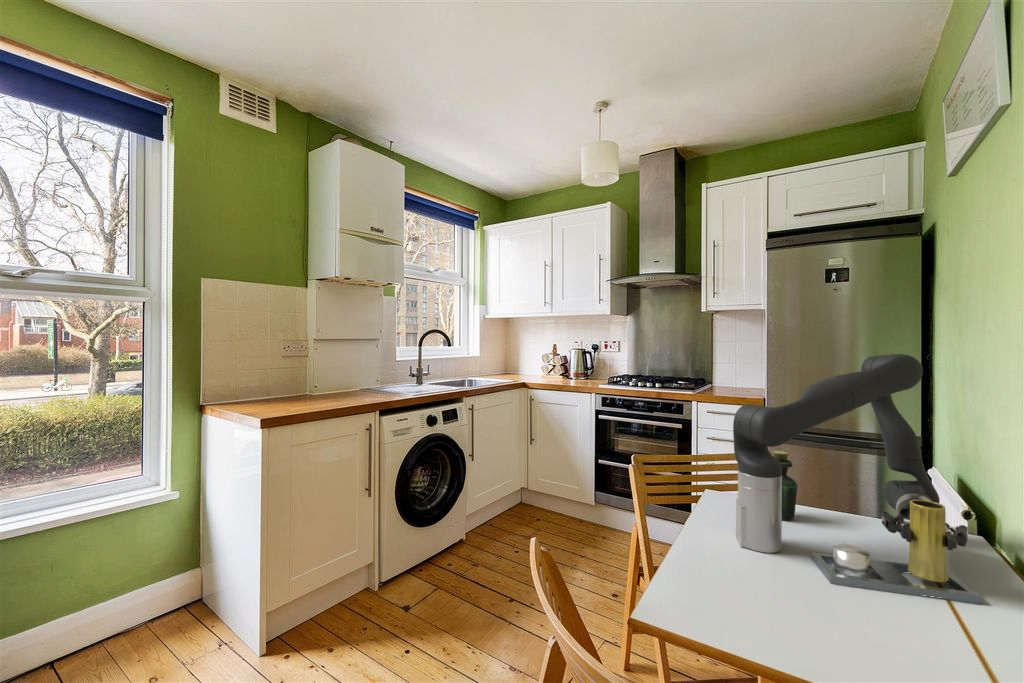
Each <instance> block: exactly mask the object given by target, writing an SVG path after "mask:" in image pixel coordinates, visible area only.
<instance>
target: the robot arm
mask: <svg viewBox="0 0 1024 683" xmlns="http://www.w3.org/2000/svg"><path fill="white" fill-rule="evenodd" d="M923 368H924V367H923V366H922V363H921V362H920V361H919V360H918V359H917V358H915V357H914V356H912V355H909V354H903V353H894V354H883V355H882V354H879V355H878V354H877V355H873V356H872V355H871V356H869V357H866V359H864V360H863V362H862V363H861V367H860V371H854V372H848V373H843V374H838V375H833V376H830V377H828V378H824V379H822V380H820V381H817V382H815V383H812V384H811V385H809V386H807V387H806V388H805V389H804V390H803V392H802V393H801V395H800V397H799V399H797V400H796V401H794V402H790V403H788V404H786V405H781V406H775V407H773V406H766V405H759V404H753V403H750V404H749V403H748V404H744V405H742V406H740V407H739V408H737V410H736V412H735V415H734V417H733V424H732V429H733V430H732V433H733V434H732V435H733V448H734V449H733V452H734V453H733V454H734V458H735V460H736V462H737V498H736V499H735V538H736V541H737V542H738V544H739V546H740V547H742V548H747V549H749V550H753V551H756V552H761V553H769V554H770V553H771V554H773V553H778V552H780V551H782V550H783V549H782V547H783V546H782V542H783V539H782V538H783V535H782V534H783V533H782V532H783V530H782V528H783V527H782V526H783V524H782V522H783V521H782V466H781V464H780V462H779V461H778V460H777V459H775V458H774V456H773V455H772V454H771V452H770V450H769V447H771V448H773V447H780V446H781V445H784V444H785V443H788V442H790V441H791V440H793V439H794V438H796V437H798V436H799V435H801V434H802V433H804V432H806V431H808V430H809V429H812V428H814V427H817V426H819V425H821V424H823V423H826V422H828V421H830V420H833V419H836V418H839V417H841V416H842V415H845V414H848V413H850V412H852V411H855V410H856V409H858V408H861V407H863V406H865V405H867V404H869V403H870V404H871V407H872V409H873V412H874V414H875V417H876V419H877V423H878V425H879V428H880V432H881V436H882V440H883V446H884V452H885V459H886V463H887V467H888V468H889V469H890V470H892V471H895V472H898V473H904V474H906V475H907V474H908V475H911V476H912V477H914V478H915V480H905V479H904V480H902V479H901V480H899V479H898V480H897V479H895V480H888V481H887V482H885V484H884V486H883V490H882V492H883V493H882V494H883V496H884V498H885V501H886V502H887V504H888V505H889V506H890V507H891V508H892V509H893V510H895V511H896V512H895V514H896V516H894V515H893V514H890V513H889V512H886V511H882V512H881V525H883V526H884V528H885V529H886V530H887V531H888V532H889V533H892V534H896V533H899V535H900V537H901V539H904V540H905V541H906V542H907V543H909V542H911V530H910V501H911V500H927V501H932V502H936V503H939V504H940V500H941V499H940V497H939V493H938V492H937V490H936V488H935V486H934V485H933V482H932V481H931V479H930V477H929V476H928V473H927V470H926V469H925V465H924V462H923V457H922V456H923V455H922V452H921V446H920V442H919V439H918V438H919V437H918V436H917V434H916V432H915V430H914V429H913V428H912V427H911V425H910V424H909V423H908V422H907V420H906V419H905V418H904V417H903V415H902V414H901V412H899V410H898V408H897V407H896V404H895V403H894V399H893V397H892V394H896V393H899V392H902V391H903V392H904V391H907V390H911V389H912V388H914V387H915V386H917V385H918V384H919V383H920V381H921V379H922V377H923V374H924V372H923V371H924V370H923ZM945 529H946V533H945V536H946V551H953V550H957V548H958V547H957V546H960V547H964V548H965V547H967V543H968V539H969V537H968V536H969V535H968V526H966V525H962V524H961V525H959V526H958V525H957V526H950V524H949V523H947V522H946V521H945Z"/></svg>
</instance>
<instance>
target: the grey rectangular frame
mask: <svg viewBox="0 0 1024 683" xmlns="http://www.w3.org/2000/svg"><path fill="white" fill-rule="evenodd" d="M832 553H833V554H830V553H823V552H822V553H820V552H813V551H812V552H811V553H810V554H811V560H812V561H813V563H814V564H815V566H816V567H817V568H818V570H820V572H821V573H822V575H824V577H825V578H826V580H827V581H828V582H829V583H830V584H832V585H837V586H838V585H839V586H846V587H852V588H861V589H867V590H874V591H881V590H882V592H888V591H889V593H895V592H899V593H898V594H902V593H908V594H907V595H909V594H916V595H915V596H917V595H926V596H934V597H941V598H944V599H943V600H945V599H947V601H953V602H961V603H966V604H967V603H968V604H975V605H976V604H977V605H982V596H981V595H980V594H979V593H978V592H976V591H975V590H973V589H972V588H971V587H970V586H968V585H967V584H966V583H964V582H963V581H961V580H960V579H958V578H957V577H956V576H954V575H953V574H952V573H951V572H949V571H948V570H947V574H948V578H949V580H948V581H947V582H945V583H946V584H948V585H949V587H951V588H952V589H950V588H943V587H936V586H928V585H921V584H914V583H912V582H911V581H910V580H909V579H908V578H907V577H906V576H904V574H903V573H900V572H909V571H908V569H907V568H908V564H909V563H903V562H902V563H901V562H895V561H894V562H893V561H888V560H887V561H885V560H879V559H872V558H871V559H870V553H869V552H868V551H866V550H865V549H863V548H861V547H858V546H854V545H851V544H845V543H843V544H841V543H837V544H836V543H835V544H834V545H833V548H832ZM828 564H832V566H833V567H832V568H833V569H832V568H831V567H830V565H828ZM870 574H871V575H872V577H873V578H870Z"/></svg>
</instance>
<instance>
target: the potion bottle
mask: <svg viewBox="0 0 1024 683" xmlns="http://www.w3.org/2000/svg"><path fill="white" fill-rule="evenodd" d="M772 454H773V455H772V456H773V457H774V458H775V459H777V460H778V461H779V462H780V464H781V466H782V520H784V522H790V520H791V521H793V520H794V519H795V514H796V505H797V494H798V484H797V481H796V480H795V479H793V478H792V477H790V476H789V475H787V474H788V470H789V468H792V467H793V466H794V465H793V463H792V461H791V460H789V459H788V456H789V452H787V451H783V450H773V451H772Z"/></svg>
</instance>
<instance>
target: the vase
mask: <svg viewBox="0 0 1024 683" xmlns="http://www.w3.org/2000/svg"><path fill="white" fill-rule="evenodd" d="M946 520H947V518H946V506H945V505H943V504H941V503H940V502H939V503H936V502H932V501H927V500H911V501H910V530H911V542H908V543H909V545H908V546H909V550H908V551H909V552H908V563H907V564H908V568H907V569H908V571H909V572H910V573H911V574H910V575H913V576H915V577H917V578H919V579H922V580H925V581H929V582H933V583H946V582H947V581H948V580H949V578H948V574H947V571H948V564H947V563H948V561H947V547H946V536H945V533H946V529H945V522H946Z"/></svg>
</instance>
